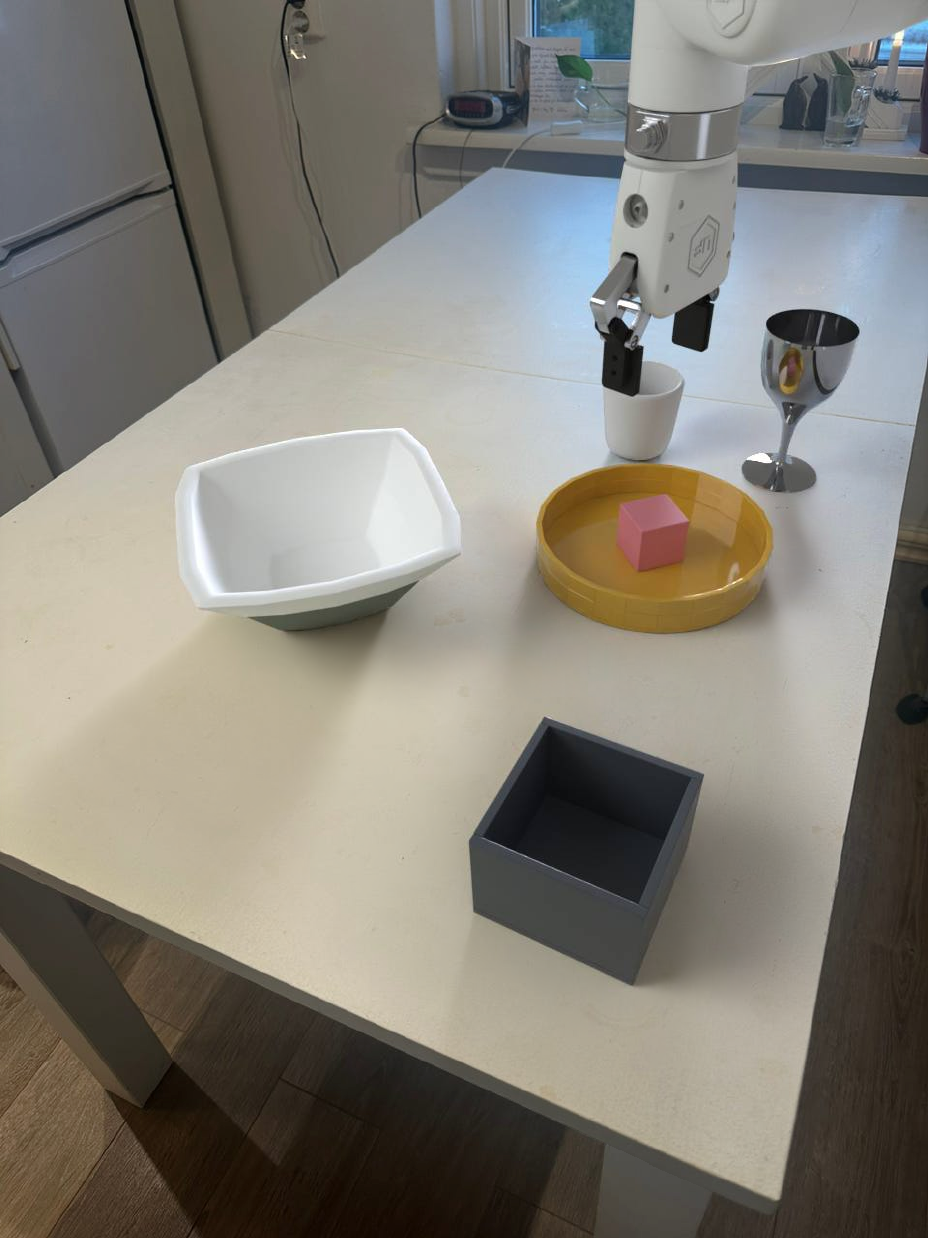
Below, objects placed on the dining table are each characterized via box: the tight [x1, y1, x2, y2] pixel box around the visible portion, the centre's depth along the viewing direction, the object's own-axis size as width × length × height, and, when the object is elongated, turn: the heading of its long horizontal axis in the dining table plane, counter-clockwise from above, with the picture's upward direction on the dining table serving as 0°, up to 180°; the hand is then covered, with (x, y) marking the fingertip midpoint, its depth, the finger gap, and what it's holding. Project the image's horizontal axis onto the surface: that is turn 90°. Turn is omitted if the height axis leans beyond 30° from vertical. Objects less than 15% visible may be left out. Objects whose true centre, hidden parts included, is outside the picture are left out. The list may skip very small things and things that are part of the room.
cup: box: [602, 359, 686, 461], centre depth 90 cm, size 11×8×8 cm
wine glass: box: [740, 308, 861, 493], centre depth 82 cm, size 8×8×15 cm
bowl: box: [174, 427, 462, 631], centre depth 74 cm, size 22×23×8 cm
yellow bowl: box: [535, 462, 774, 634], centre depth 77 cm, size 20×20×4 cm
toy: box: [617, 494, 689, 572], centre depth 76 cm, size 4×4×4 cm
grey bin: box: [468, 716, 705, 987], centre depth 52 cm, size 10×10×8 cm
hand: (655, 367), depth 70 cm, fingers open, 9 cm apart
